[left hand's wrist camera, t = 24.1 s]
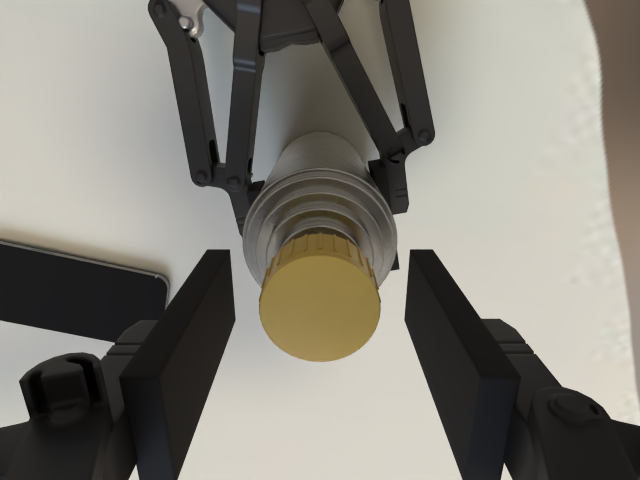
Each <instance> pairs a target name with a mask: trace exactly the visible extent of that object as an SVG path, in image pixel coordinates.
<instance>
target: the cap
mask: <svg viewBox="0 0 640 480" xmlns="http://www.w3.org/2000/svg"><path fill="white" fill-rule="evenodd" d="M261 289H262V291H261V295H260V298H259V302H260V304H259V313H260V319H261V322H262V326H263V328H264V330H265V332H266V334H267V335H268V337H269V338H270V339H271V340H272V342H273V343H274V344H275V345H276V346H278V347H279V348H280V349H281V350H283V351H284V352H286V353H287V354H289V355H291V356H294V357H296V358H299V359H302V360H306V361H313V362H326V361H333V360H337V359H341V358H344V357H346V356H348V355H351V354H352V353H354V352H356V351H357V350H358V349H360V348H361V347H362V346H363V345H364V344H365V343H366V342H367V341H368V340H369V339H370V338H371V336H372V335H373V333H374V331H375V329H376V327H377V325H378V322H379V318H380V310H381V308H380V303H381V300H380V296H379V293H378V289H379V287H378V284H377V280H376V277H375V274H374V270H373V269H371V266H370V262H369V259H368V257H367V258H366V257H365V256H364V254H363V253H362V252H361V250H360V248H359V247H358V248H357V247H356V246H354V245H353V244H352V243H350V242H349V240H348V239H347V240H345V239H342V238H340V237H337V236H336V235H335V234H333V235H328V234H322V233H319V234H312V235H307V234H305V236H303V237H300V238H297V239H295V240H294V239H292V240H291V242H290V243H288V244H287V245H285V246H284V247H281V248H280V251H279V252H278V253H277V254H276V255H275V257H272V259H271V262H270V266H269V268H267V269H266V273H265V276H264V279H263V283H262V286H261Z"/></svg>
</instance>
